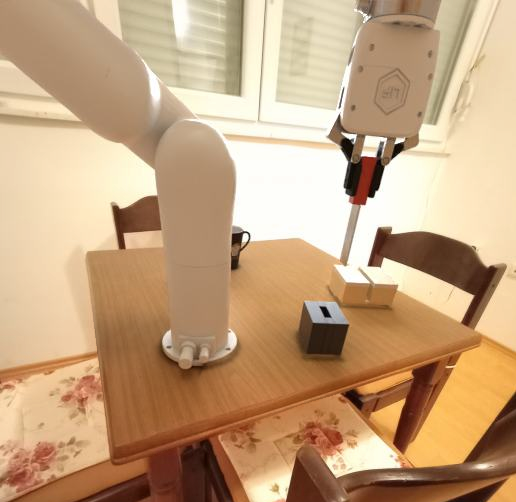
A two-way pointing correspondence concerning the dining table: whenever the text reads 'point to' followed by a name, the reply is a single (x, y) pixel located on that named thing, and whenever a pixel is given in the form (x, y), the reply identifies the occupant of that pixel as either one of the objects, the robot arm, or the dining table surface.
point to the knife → (358, 203)
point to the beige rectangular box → (362, 285)
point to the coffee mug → (237, 245)
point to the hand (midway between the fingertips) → (359, 194)
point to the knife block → (323, 328)
